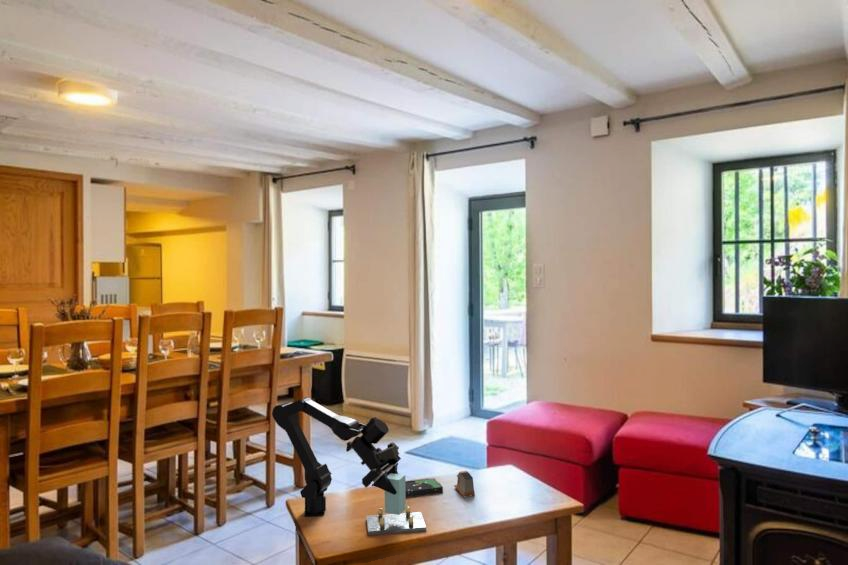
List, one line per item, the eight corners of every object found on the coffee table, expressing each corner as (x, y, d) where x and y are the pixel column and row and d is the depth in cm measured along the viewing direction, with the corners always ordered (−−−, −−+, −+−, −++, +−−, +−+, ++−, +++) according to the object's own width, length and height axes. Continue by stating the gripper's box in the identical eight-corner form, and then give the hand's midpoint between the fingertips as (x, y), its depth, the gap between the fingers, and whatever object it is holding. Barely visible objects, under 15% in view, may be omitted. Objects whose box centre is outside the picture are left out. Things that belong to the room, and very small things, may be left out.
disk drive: (404, 499, 207) (443, 493, 211) (404, 491, 207) (443, 486, 211) (397, 489, 217) (434, 484, 221) (396, 482, 217) (434, 477, 221)
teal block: (384, 512, 182) (384, 478, 182) (391, 506, 187) (391, 473, 187) (399, 515, 180) (399, 480, 180) (405, 509, 185) (405, 474, 185)
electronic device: (464, 486, 217) (464, 467, 217) (475, 496, 208) (475, 475, 208) (453, 488, 216) (453, 468, 215) (464, 497, 207) (463, 477, 206)
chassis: (368, 535, 176) (368, 522, 176) (366, 519, 188) (366, 507, 188) (426, 531, 179) (426, 518, 179) (420, 515, 191) (420, 503, 191)
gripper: (370, 444, 176) (404, 485, 172) (395, 429, 194) (426, 465, 190) (348, 467, 179) (380, 507, 175) (374, 450, 197) (404, 486, 193)
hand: (399, 490), depth 183 cm, fingers closed on teal block, 5 cm apart
